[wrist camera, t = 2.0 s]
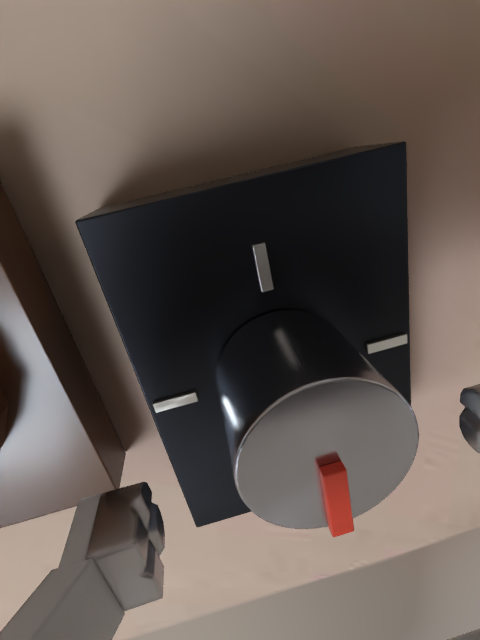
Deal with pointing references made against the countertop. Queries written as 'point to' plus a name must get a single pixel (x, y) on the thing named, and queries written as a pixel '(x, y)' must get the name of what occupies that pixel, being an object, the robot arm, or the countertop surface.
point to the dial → (310, 423)
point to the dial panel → (252, 287)
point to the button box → (45, 396)
